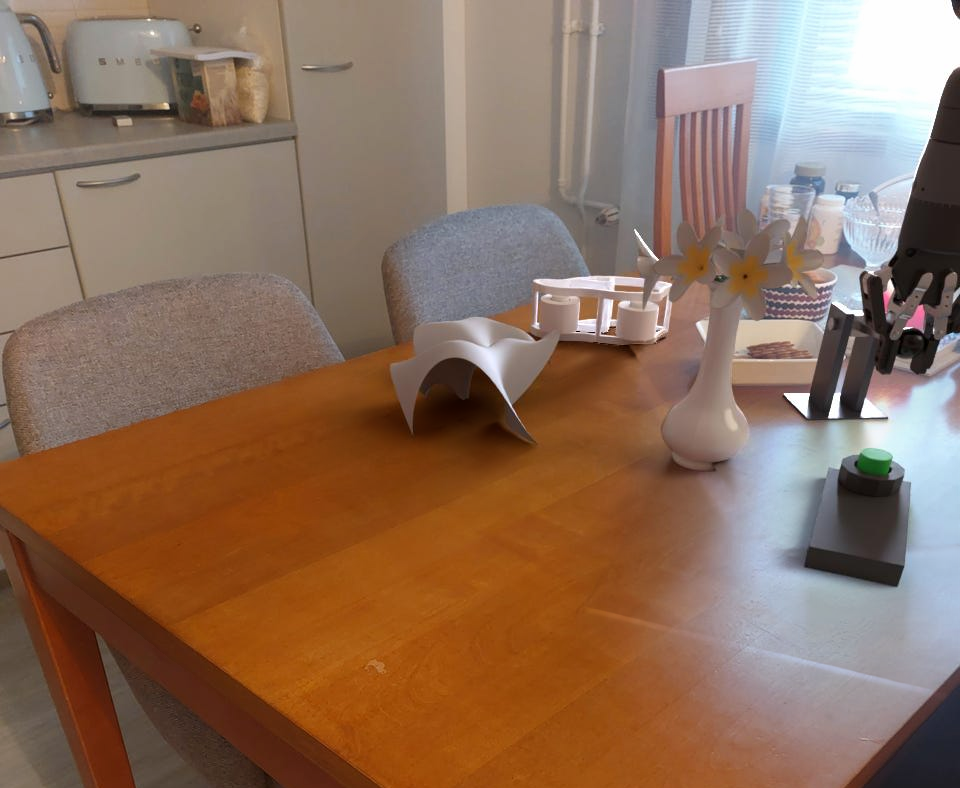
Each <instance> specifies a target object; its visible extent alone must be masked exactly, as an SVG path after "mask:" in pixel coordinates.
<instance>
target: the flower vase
mask: <svg viewBox="0 0 960 788" xmlns="http://www.w3.org/2000/svg"><path fill="white" fill-rule="evenodd" d="M725 218H726V214H725V213H723V214H721V215H720V217H718V219H717V220H716V222H715V224H714V225H713V227H712V228H710V229H709V230H707V231H706V232H705V233H704V235H703V236H702V238H698V236H697V233H696V231H695V228H694V227H693V225H692V224H691V223H690V222H689V221H687V220H683V221H681V222H680V223H679V224H678V227H677V230H676V243H677V247H678V249H679V252H680V253H681V254H682V255H681V254H678V253H677V254H675V253H673V254H667V255H664V256H662V257H660V258H659V259H658V258H657V256H656V255H655V254H654V253H653V252H652V251H651V250H650V248H649V247H648V246H647V244H646V243H645V242H644V240H643V239H642V238H641V236H640V235H639V233H638V232H637V230H636V228H634V230H633V231H634V235H635V240H636V243H637V246H638V256H637V257H636V268H637V273H638V276H639V278H643V279H645V281H644V287H643V290H642V292H643V301H642V302H643V304H642V305H643V311H644V309H645V306H646V304H647V301H648V299H649V297H650V294H651V292H652V290H653V291H654V289H653V288H654V287H655V285H656V283H657V282H658V281H660V278H661V276H662V277H671V278H670V282H672V281H673V282H672V283H671V284H672V286H671V288H670V291H669V301H670V302H672V304H673V303H677V302H678V301H679V300H681V298H682V297H683V296H684V295H685V294H686V292H688V290H689V289H690V287H691V286H692V285H693V284H694V283H695V282H697V283H699V284H700V285H707V287H708V290H709V312H708V313H709V314H708V324H707V330H706V334H705V335H706V336H705V341H704V345H703V350H702V355H701V360H700V365H699V367H698V370H697V371H698V372H697V374H696V378H695V380H694V382H693V384H692V386H691V388H690V389H689V390H688V392H687V394H686V395H685V396H684V397H683V398H682V399H680V400H679V401H678V402H677V403H675V404H674V405H673V406H672V407H671V408H670V409H669V410H668V411H667V413H666V415H665V416H664V418H663V420H662V423H661V425H660V432H661V437H662V440H663V441H664V444H665V445H666V446H667V448H668V449H669V450H670V451H671V457H672V460H673V461H674V463H676V465H679V466H681V467H683V468H685V469H688V470H691V471H699V472H714V471H717V468H716V467H715V465H714V463H719V462H723V461H726V460H729V459H732V458H733V457H735V456H737V455H738V454H739V453H740V452H741V451H743V450H744V448H746V446H747V444H748V442H749V438H750V426H749V423H748V420H747V417H746V415H745V414H744V412H743V410H742V409H741V408H740V407H739V406H738V404H737V402H736V399H735V396H734V391H733V384H732V373H733V365H734V364H733V363H734V356H735V351H736V350H735V349H736V342H737V336H738V330H739V325H740V321H741V317H742V314H743V311H745V313H746V314H747V316H748V317H749V318H750V319H751V320H753V321H754V322H759V321H761V320H763V319H764V317H765V315H766V312H767V298H766V295H765V293H764V290H763V289H776V288H781V287H784V286H786V285H787V284H789V285H790V286H791V287H792V288H796V287H798V286H799V287H800V288H801V289H802V290H803V291H804V292H805V293H806V294H807V295H808V296H809V298H811V299H812V300H817V298H818V291H817V286H816V284H815V282H814V280H813V279H812V277H811V275H810V274H808V273H807V272H811V271H812V272H813V271H816V270H818V269H820V268H821V267H822V266H823V265H824V261H825V259H824V255H823V253H822V252H821V251H820V250H819V249H817V248H813V247H812V248H811V247H809V248H804V249H802V248H803V247H804V246H805V244H806V243H807V242H806V241H807V237H808V222H807V219H806V217H805V216H803V215H802V216H801V217H800V218H799V219H798V221H797V224H796V226H795V228H794V231H793V233H792V235H791V233H790V229H791V222H790V221H789V219H787V218H780V219H777V220H774V221H771V223H769V224H768V225H766V226H765V227H764V228H763V229H762V230H761V231H760V228H759V223H758V220H757V218H756V216H755V214H754V213H753V212H752V211H751V210H749V208H745V207H743V208H741V209H740V210H738V213H737V215H736V228H737V232H738V234H737V233H736V232H733V231H730V230H726V229H724V225H725V220H726V219H725ZM781 240H782V245H781V244H778V243H779V242H781ZM717 271H718V272H719V273H720V274H718V273H717ZM805 272H806V273H805Z"/></svg>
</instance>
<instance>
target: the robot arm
mask: <svg viewBox="0 0 960 788" xmlns="http://www.w3.org/2000/svg"><path fill="white" fill-rule="evenodd" d="M949 2H950V3H949V4H950V9H951V12H952V14H953V16H954V18H955V20H957V22H959V23H960V0H949ZM918 161H919V162H918V165H917V167H916V170H915V174H914V177H913V181H912V182H911V188H910V192H909V195H908V200H907V204H906V207H905V211H904V214H903V219H902V222H901V225H900V229H899V232H898V237H897V238H898V239H897V247H896V251H895V253H894V254H893V256H892V257H891V258H890V260H889V261H888V263H887V266H885V267H882V268H880V269H878V270H874V271H870V270H868V269H867V270H863V271H862V272H861V273H860V274H859V277H858V279H859V287H860V288H859V289H860V296H861V304H862V305H861V306H862V309H863V313H864V321H865V325H866V326H867V327H869V328H870V329H872V330H873V331H874V332H876V333H878V334H879V341H878V344H877V348H876V351H875V355H874V359H873V364H874V365H875V366H874V367H875V370H876V372H878V373H879V374H881V375H882V376H889V375H891V374H892V372H893V369H894V365H895V361H896V358H897V356H896V355H897V352H898V348H899V345H900V340H899V339H898V338H900V336H901V334H902V332H903V330H904V328H906V326H907V324H908V322H909V320H910V319H912V318H913V317H914V316H915V314H916V312H917V310H918V308H919V307H920V306H922V309H923V313H924V315H923V324H922V325H923V326H922V333H923V334H924V336H925V346H924V349H923V351H922V352H921V353H920V354H919V355H918V356H916V357H915V358H912V359H910V360H911V361H910V364H909V370H910V371H911V372H913V373H914V374H915V375H917V376H918V375H921V376H922V375H925V374H926V373H927V371H928V370H931V367H932V366H933V364H934V361H935V358H936V355H937V353H938V349H939V346H940V342H941V340H942V339H944V338H945V337H946V336H947V335H950V334H955V335H956V334H957V335H958V334H960V293H959V294H958V295H957V297H956V298H955V300H954V296H955V293H956V292H957V291H958V290H959V289H960V66H959V67H956V68H954V69H953V70H952V71H951V72H949V73H948V75H947V76H946V79H945V80H944V83H943V86H942V87H941V92H940V94H939V97H938V101H937V105H936V108H935V112H934V115H933V119H932V123H931V126H930V130H929V134H928V138H927V141H926V144H925V146H924V149H923V151H922V153H921V156H920V158H919V160H918ZM889 281H890V282H891V284H892V287H893V291H892V292H891V295H890V297H889V299H888V301H887V304H886V306H885V296H884V293H885V292H887V290H888V284H889ZM885 311H886V314H885Z"/></svg>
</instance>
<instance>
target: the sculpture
mask: <svg viewBox="0 0 960 788" xmlns="http://www.w3.org/2000/svg"><path fill="white" fill-rule="evenodd" d="M560 333H561V332H560V330H555V331H552V332H550V333H549V334H547V335H546V336H544V337H543V338H540V339H539V340H535V339H534V337H532V336H531V335H530V334H528V333H527V332H525V331H524V330H522V329H521V328H518V327H517V326H513V325H510V324H508V323H503V322H500V321H498V320H494V319H491V318H489V317H488V318H487V317H482V316H470V317H466V318H464V319H459V320H446V321H437V322H436V321H435V322H428V323H422V324H418V325H417V326H416V327H415V328H414V331H413V336H412V337H413V338H412V344H413V352H414V356H412V357H410V358H408V359H406V360H403V361H399V362H395V363H394V362H393V363H391V364H390V365H389V371H390V372H389V373H390V376H391V377H390V378H391V381H392V384H393V387H394V390H395V393H396V396H397V399H398V401H399V403H400V407H401V409H402V412H403V414H404V418H405V420H406V422H407V425H408V427H409V430H410V433H411V435H412V436H414V426H413V425H414V411H415V405H416V400H417V397H418V393H419V392H420V394H421V395H422V396H424V398H425V397H427V395H428V393H429V391H430V390H431V389H432V388H433V386H435V385H438V384H439V385H440V384H441V385H445V386H447V387H448V388H450V389H451V390H452V391H453V393H455V394H456V396H457V398H458V399H461V400H462V401H464V400H466V399H469V396H470V386H471V382H472V377H473V373H474V372H475V369H476V367H478V368H479V369H481V370H482V371H483V372H484V373H485V375H487V376H488V377H489V379H490V380H491V381H492V382H493V384H494V385H495V386H496V388H497V389H498V390H499V392H500V393H501V394H502V396H503V398H504V423H505V425H506V427H507V428H508V429H509V430H510V431H512V432H513V433H514V434H516V435H517V436H519V437H521V438H522V439H524V440H527V441H529V442H530V443H533V444H535V445H537V446H539V443H538V442H537V441H536V440H535V439H534V438H533V437H532V436H531V434H530V433H529V432H528V431H527V429H526V427H525V426H524V425H523V423H522V421H521V420H520V418H519V416H518V414H517V413H516V411H515V409H514V407H513V405H514V404H515V403H516V402H517V400H519V398H521V396H523V394H524V393H525V392H526V391H527V390H528V389H529V387H530V386H531V385H532V384H533V383H534V381H535V380H536V379H537V378H538V376H539V375H540V374H541V372H542V370H543V369H544V368H545V366H546V365H547V363H548V364H549V366H551V363H550V358H551V356H552V355H553V353H554V351H555V349H556V348H557V345H558V343H559V341H560V340H559V338H560Z"/></svg>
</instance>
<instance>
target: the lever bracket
mask: <svg viewBox="0 0 960 788" xmlns="http://www.w3.org/2000/svg"><path fill="white" fill-rule="evenodd" d="M852 311H853V310H850V309H849V308H848V307H847V306H845V305H843V304H842V303H840V302H831V303H830V306H829V310H828V313H827V318H826V322H825V327H824V331H823V335H822V340H821V344H820V348H819V351H818V355H817V361H816V364H815V368H814V373H813V376H812V381H811V384H810V389H809V393H783V394H782V397H784V398H785V399H786V401H787V402H788V403H789V404H791V406H793V408H794V409H795V410H796V411H797V412H799V413H800V415H801V416H802V417H803V418H804V420H806V421H854V420H855V421H858V420H859V421H861V420H863V421H864V420H888V419H889V417H888V416H887V415H886V414H885V413H884V412H883V411H881V409H879V408H878V407H877V406H875V404H873V403H872V402H871V401H870V400H868V399H867V395H868V390H869V387H870V384H871V380H872V377H873V373H874V369H875V367H876V366H875V365H874V364H873V359H874V355H875V351H876V348H877V344H878V341H879V339H877V338H874V337H872V336H869V335H868V337H854V339H853V344H852V348H851V351H850V355H849V360H848V363H847V368H846V371H845V375H844V379H843V382H842V387H841V390H840V392H838V393H837V392H836V390H837V387H838V382H839V379H840V375H841V371H842V367H843V363H844V359H845V356H846V351H847V347H848V344H849V340H850V332H851V328H852V324H853V320H854V316H855V313H853V312H852ZM861 311H862V312H863V308H862V310H861ZM886 312H887V310H885V314H886Z"/></svg>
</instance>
